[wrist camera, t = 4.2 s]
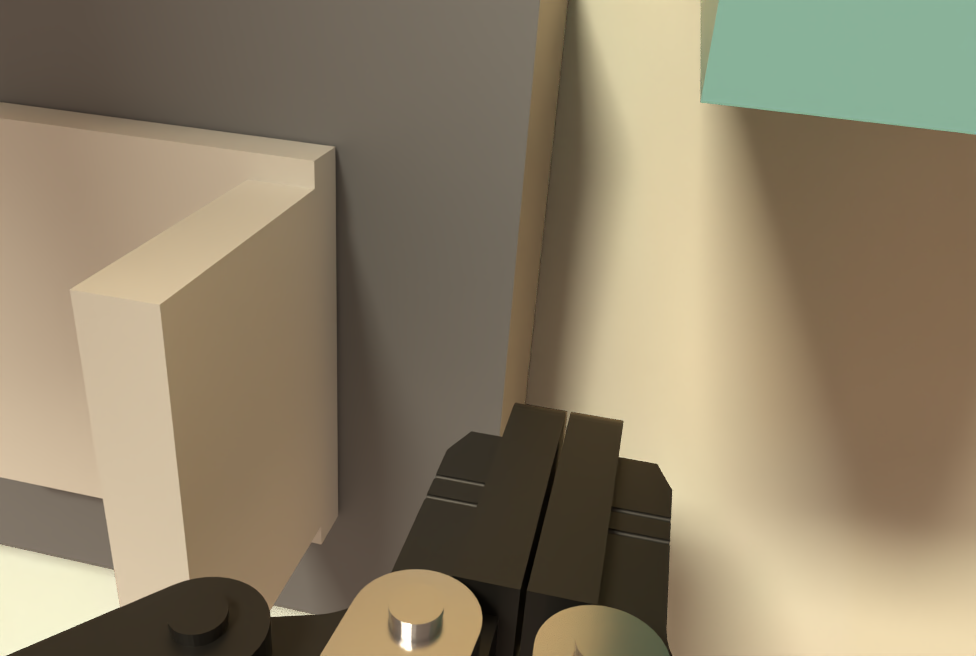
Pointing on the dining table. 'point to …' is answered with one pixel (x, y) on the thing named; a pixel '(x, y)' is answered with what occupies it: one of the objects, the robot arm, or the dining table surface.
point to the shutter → (172, 339)
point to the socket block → (344, 215)
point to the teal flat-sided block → (844, 59)
